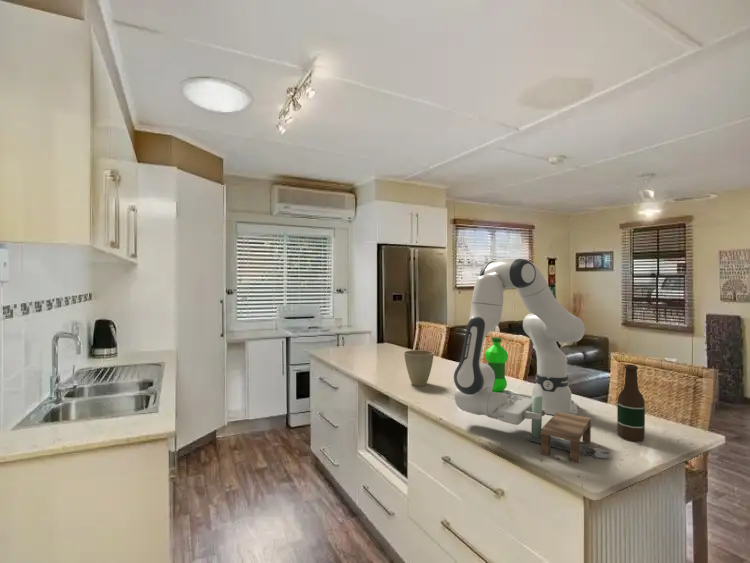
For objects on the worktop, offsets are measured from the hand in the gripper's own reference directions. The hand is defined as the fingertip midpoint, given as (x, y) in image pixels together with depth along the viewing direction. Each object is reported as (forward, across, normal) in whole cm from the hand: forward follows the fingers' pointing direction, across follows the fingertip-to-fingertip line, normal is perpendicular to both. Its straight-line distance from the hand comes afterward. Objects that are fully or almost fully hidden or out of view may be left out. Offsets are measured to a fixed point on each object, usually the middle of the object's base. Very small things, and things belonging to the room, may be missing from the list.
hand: (542, 414), depth 127 cm
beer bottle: (+22, +22, +9) cm, 32 cm away
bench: (+7, 0, +9) cm, 11 cm away
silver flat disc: (+16, 0, +9) cm, 18 cm away
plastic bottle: (-34, +50, +9) cm, 61 cm away
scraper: (+4, 0, +8) cm, 9 cm away
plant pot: (-69, +37, +9) cm, 79 cm away
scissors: (-40, +24, +9) cm, 47 cm away
